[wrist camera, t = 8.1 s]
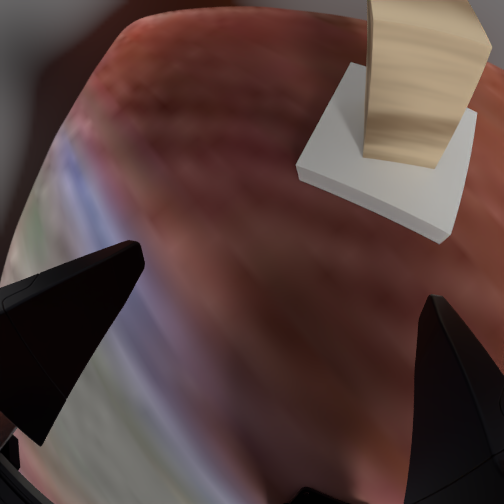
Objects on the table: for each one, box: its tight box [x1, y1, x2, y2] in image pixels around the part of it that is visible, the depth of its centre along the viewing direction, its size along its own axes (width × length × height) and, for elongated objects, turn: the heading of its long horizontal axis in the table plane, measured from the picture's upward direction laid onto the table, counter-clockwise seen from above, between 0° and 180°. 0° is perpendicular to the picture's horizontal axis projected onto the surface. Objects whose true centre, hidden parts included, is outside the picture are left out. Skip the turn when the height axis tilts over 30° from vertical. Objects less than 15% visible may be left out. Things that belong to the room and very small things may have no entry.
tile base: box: [296, 62, 477, 244], centre depth 21 cm, size 12×12×2 cm
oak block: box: [363, 0, 492, 169], centre depth 14 cm, size 6×6×12 cm
